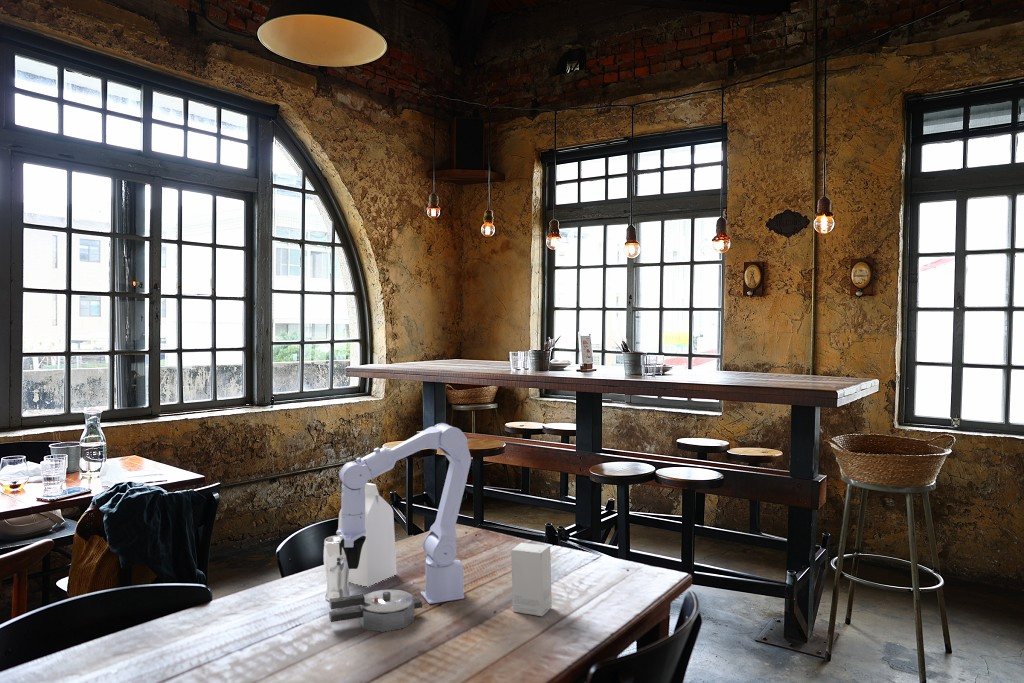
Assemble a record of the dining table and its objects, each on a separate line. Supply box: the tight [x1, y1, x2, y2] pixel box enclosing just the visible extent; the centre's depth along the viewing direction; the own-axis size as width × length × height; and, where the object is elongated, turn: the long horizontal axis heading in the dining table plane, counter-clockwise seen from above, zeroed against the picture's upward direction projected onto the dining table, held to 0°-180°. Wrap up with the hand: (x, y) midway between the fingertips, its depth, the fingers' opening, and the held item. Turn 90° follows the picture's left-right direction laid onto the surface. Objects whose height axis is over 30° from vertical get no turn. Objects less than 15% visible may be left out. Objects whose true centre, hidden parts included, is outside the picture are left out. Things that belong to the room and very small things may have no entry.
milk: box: [337, 482, 398, 588], centre depth 196 cm, size 12×12×26 cm
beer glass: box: [323, 534, 351, 602], centre depth 181 cm, size 7×7×15 cm
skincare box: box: [510, 542, 553, 617], centre depth 174 cm, size 8×7×16 cm
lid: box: [329, 589, 414, 613], centre depth 166 cm, size 19×12×2 cm, turn 113°
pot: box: [328, 597, 423, 633], centre depth 166 cm, size 21×12×4 cm, turn 114°
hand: (353, 568), depth 173 cm, fingers closed
